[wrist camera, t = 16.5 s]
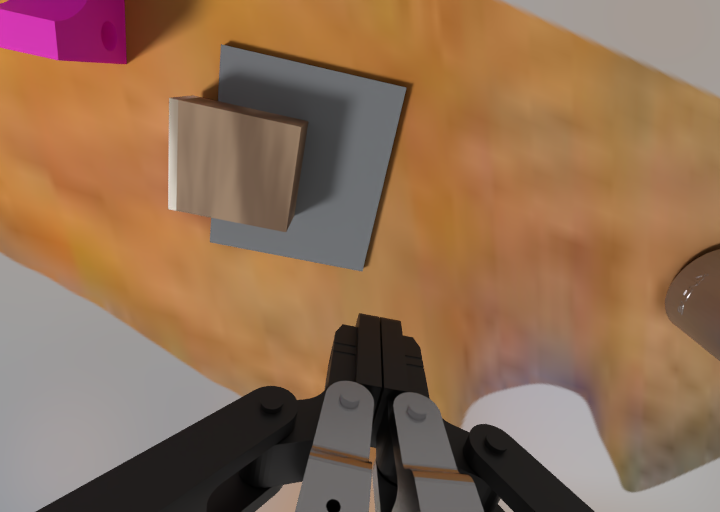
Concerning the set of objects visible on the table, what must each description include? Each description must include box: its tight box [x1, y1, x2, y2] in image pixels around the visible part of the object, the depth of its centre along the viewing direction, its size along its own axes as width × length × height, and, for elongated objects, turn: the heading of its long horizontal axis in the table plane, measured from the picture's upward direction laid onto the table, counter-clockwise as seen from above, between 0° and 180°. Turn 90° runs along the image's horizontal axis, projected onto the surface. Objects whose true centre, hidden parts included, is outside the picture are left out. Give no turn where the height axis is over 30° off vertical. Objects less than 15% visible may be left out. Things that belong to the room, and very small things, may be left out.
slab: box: [168, 95, 308, 232], centre depth 30 cm, size 4×8×9 cm
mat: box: [210, 44, 406, 271], centre depth 33 cm, size 14×16×1 cm
